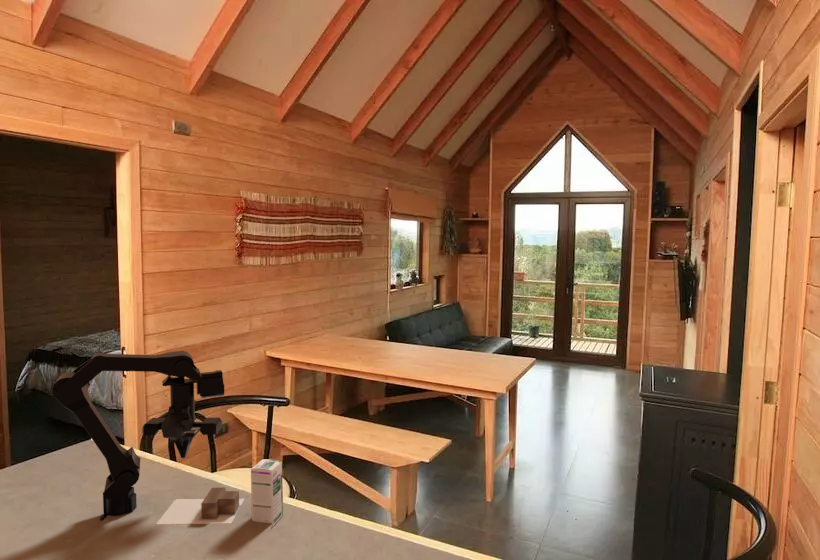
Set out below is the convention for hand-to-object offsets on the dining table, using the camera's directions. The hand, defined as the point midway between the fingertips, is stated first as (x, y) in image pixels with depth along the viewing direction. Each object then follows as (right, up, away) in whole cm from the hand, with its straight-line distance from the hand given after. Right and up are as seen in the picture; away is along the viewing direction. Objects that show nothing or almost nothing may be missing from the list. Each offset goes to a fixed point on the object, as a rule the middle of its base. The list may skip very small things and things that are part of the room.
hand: (183, 457), depth 138 cm
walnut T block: (+12, -12, -5) cm, 18 cm away
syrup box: (+24, -13, -8) cm, 29 cm away
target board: (+7, -13, -6) cm, 16 cm away
